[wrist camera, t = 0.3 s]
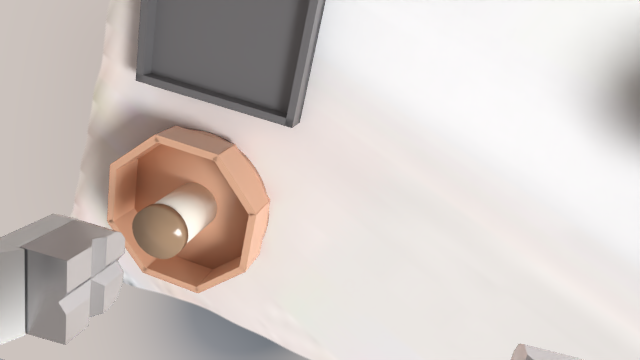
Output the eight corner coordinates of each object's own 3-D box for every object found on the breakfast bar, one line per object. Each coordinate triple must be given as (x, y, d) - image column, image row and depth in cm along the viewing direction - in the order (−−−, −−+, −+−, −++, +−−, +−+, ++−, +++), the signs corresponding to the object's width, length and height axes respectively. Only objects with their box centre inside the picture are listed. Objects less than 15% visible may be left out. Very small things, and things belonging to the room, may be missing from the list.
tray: (161, -82, 48) (146, -86, 45) (334, -41, 45) (327, -43, 42) (149, 77, 54) (135, 80, 52) (299, 122, 51) (292, 127, 49)
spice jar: (176, 174, 56) (134, 200, 49) (221, 190, 55) (185, 218, 48) (171, 217, 58) (130, 248, 51) (214, 233, 57) (179, 266, 50)
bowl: (140, 110, 56) (112, 120, 51) (281, 155, 53) (264, 169, 48) (131, 239, 63) (105, 258, 58) (255, 285, 60) (238, 308, 55)
